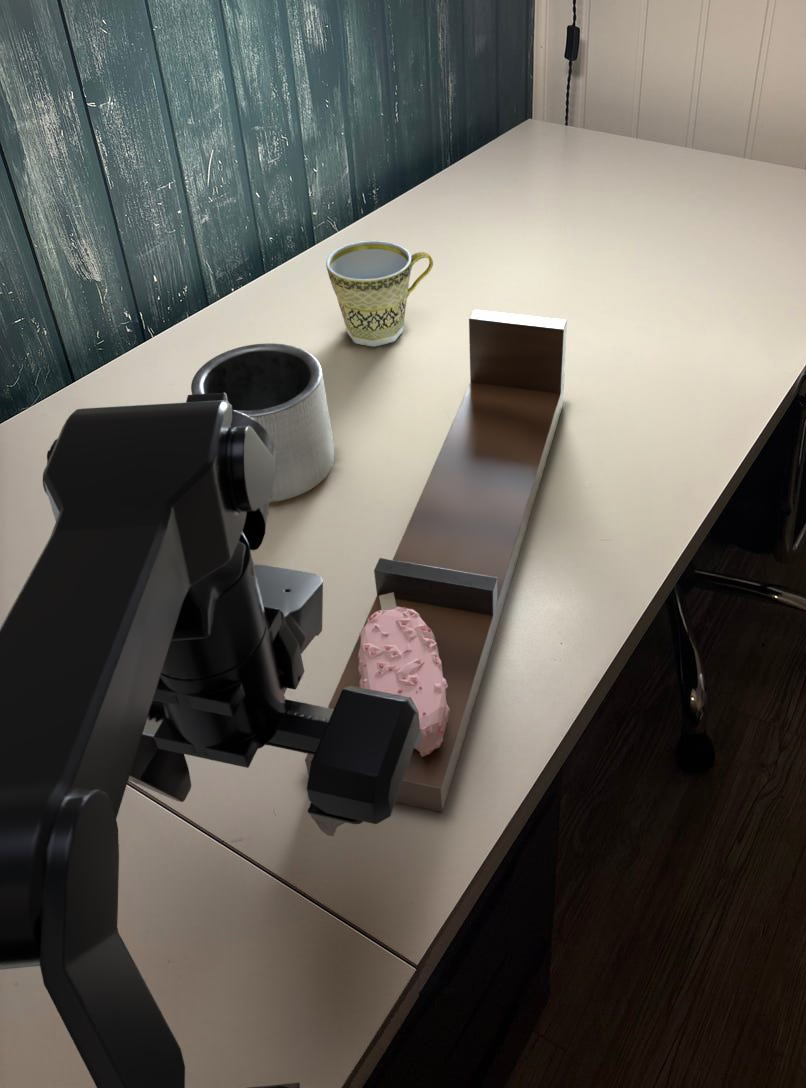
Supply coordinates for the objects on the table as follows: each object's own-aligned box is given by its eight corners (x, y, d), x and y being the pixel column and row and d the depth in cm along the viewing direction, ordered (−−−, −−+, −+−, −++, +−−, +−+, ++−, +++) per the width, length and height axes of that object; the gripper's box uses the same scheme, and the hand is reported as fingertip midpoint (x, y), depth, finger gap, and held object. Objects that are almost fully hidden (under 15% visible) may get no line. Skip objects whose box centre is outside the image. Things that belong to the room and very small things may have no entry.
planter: (185, 478, 96) (161, 388, 89) (272, 416, 104) (256, 328, 97) (276, 525, 90) (257, 433, 83) (360, 455, 98) (350, 366, 91)
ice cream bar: (424, 571, 76) (458, 722, 64) (426, 608, 78) (458, 760, 67) (346, 582, 75) (366, 737, 63) (350, 619, 77) (370, 775, 66)
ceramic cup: (349, 362, 112) (341, 287, 106) (324, 322, 119) (315, 250, 113) (450, 337, 116) (448, 263, 110) (420, 300, 123) (416, 229, 117)
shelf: (442, 812, 67) (435, 719, 60) (310, 783, 69) (288, 689, 62) (562, 405, 105) (567, 319, 98) (475, 394, 107) (473, 309, 100)
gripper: (442, 544, 49) (451, 725, 59) (116, 491, 52) (177, 670, 62) (372, 724, 40) (397, 900, 50) (-10, 646, 44) (83, 825, 54)
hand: (258, 810), depth 54 cm, fingers open, 9 cm apart
